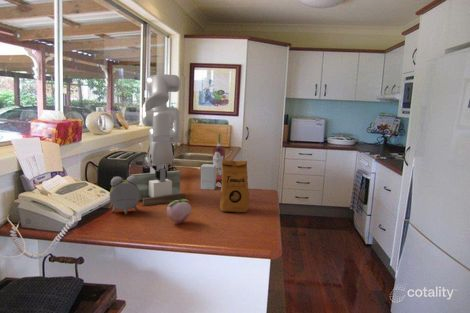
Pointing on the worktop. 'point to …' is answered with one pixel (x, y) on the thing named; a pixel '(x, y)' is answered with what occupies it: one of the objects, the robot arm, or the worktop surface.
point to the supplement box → (208, 176)
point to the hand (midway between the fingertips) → (161, 178)
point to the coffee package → (234, 187)
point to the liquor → (218, 158)
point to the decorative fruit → (179, 210)
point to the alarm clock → (124, 193)
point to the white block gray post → (160, 185)
